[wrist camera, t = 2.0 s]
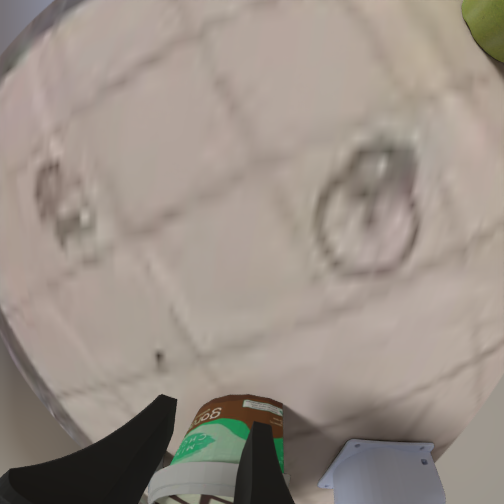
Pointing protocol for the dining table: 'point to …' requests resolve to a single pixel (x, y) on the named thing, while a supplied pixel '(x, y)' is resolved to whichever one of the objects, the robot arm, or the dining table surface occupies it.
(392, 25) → the dining table surface
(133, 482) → the robot arm
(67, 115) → the dining table surface
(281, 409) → the food container
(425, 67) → the dining table surface
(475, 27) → the plant pot
